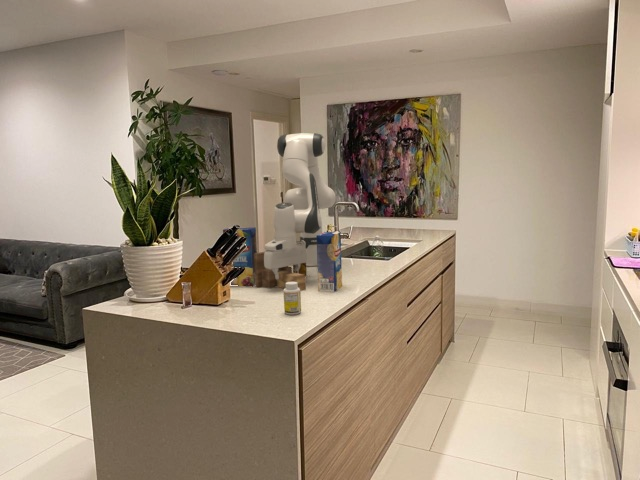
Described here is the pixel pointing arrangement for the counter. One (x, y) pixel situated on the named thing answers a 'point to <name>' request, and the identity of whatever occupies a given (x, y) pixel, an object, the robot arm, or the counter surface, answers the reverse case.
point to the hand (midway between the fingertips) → (287, 276)
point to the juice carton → (246, 257)
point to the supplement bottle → (292, 298)
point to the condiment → (302, 269)
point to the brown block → (265, 272)
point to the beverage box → (329, 261)
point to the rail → (290, 279)
